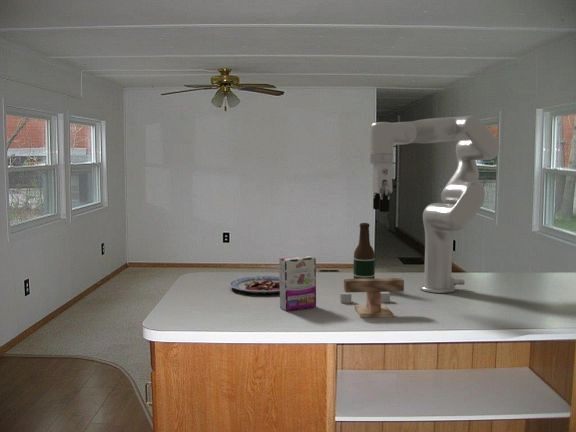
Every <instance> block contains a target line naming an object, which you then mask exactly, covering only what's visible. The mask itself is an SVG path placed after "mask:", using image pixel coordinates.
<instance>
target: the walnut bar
mask: <svg viewBox="0 0 576 432" xmlns="http://www.w3.org/2000/svg"><path fill="white" fill-rule="evenodd" d="M343 292H346V293H367V292H389V293H391V292H392V293H395V292H400V293H401V292H402V293H403V292H405V280H404V279H403V278H402V277H391V278H390V277H387V278H386V277H381V278H377V277H375V278H370V279H354V278H343Z"/></svg>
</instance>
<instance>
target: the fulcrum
mask: <svg viewBox="0 0 576 432" xmlns="http://www.w3.org/2000/svg"><path fill="white" fill-rule="evenodd" d="M354 310H355V312H356V313H357V314H358V316H359V318H394V312H393V311H391V309H390V308H389V307H388V306H387V305H382V302H381V293H380V292H366V305H354Z"/></svg>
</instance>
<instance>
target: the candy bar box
mask: <svg viewBox="0 0 576 432" xmlns="http://www.w3.org/2000/svg"><path fill="white" fill-rule="evenodd" d="M316 260H317V259H316V257H315V256H312V255H302V256H301V255H299V256H293V257H292V256H290V257H281V258H278V262H279V263H278V267H279V272H278V273H279V276H278V277H279V278H280V292H279V308H280V309H281V310H283V311H285V312H290V311H291V312H292V311H297V310H305V309H311V308H316V307H317V276H316V275H317V271H316V270H317V269H316V267H317V266H316V263H317V262H316Z"/></svg>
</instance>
